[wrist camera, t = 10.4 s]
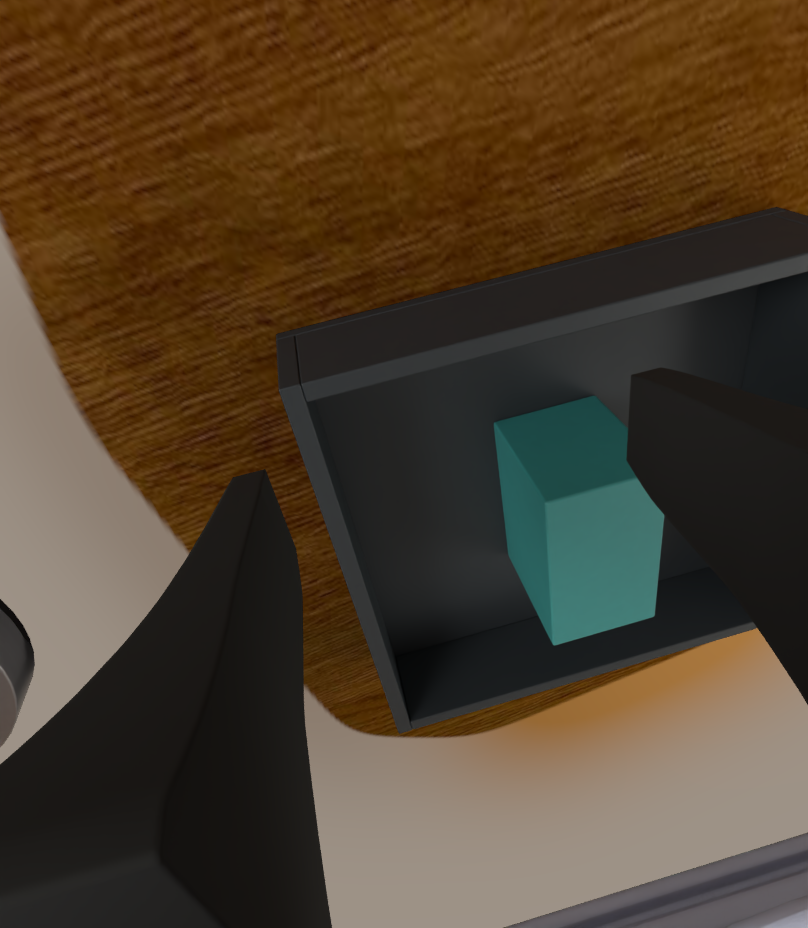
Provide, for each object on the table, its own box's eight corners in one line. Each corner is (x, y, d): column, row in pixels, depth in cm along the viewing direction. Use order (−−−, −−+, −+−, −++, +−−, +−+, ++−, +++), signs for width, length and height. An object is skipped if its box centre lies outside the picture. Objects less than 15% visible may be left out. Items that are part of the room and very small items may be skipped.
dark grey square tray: (383, 658, 29) (399, 734, 26) (275, 333, 19) (278, 390, 16) (714, 563, 30) (769, 625, 27) (776, 206, 20) (876, 235, 17)
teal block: (507, 555, 26) (553, 647, 22) (492, 421, 22) (544, 503, 18) (594, 531, 26) (655, 617, 22) (595, 394, 22) (670, 468, 18)
